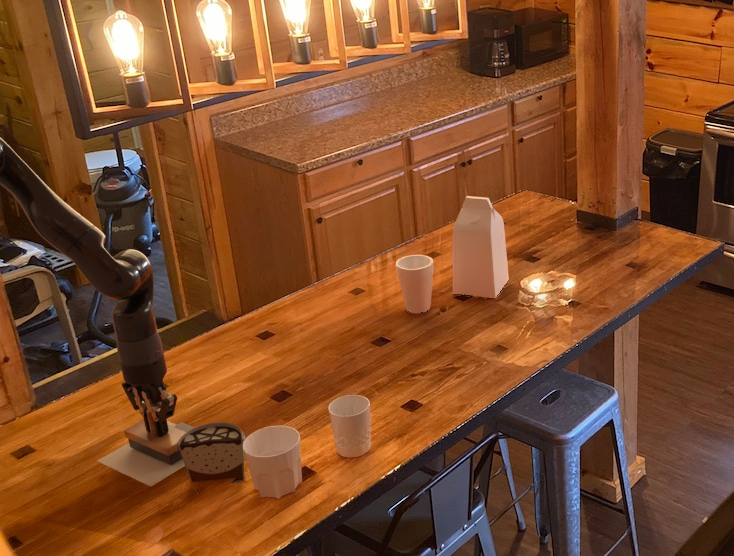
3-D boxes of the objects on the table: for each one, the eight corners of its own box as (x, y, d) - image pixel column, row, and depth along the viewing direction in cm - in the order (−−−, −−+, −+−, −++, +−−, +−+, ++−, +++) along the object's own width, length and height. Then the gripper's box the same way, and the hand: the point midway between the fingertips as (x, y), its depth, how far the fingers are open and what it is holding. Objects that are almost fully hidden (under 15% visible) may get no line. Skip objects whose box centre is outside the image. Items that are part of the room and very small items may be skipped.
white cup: (332, 440, 192) (327, 398, 188) (372, 434, 194) (367, 391, 190) (335, 463, 185) (329, 419, 181) (376, 455, 187) (371, 412, 183)
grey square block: (166, 442, 189) (164, 431, 188) (183, 432, 192) (181, 421, 191) (180, 448, 187) (178, 437, 186) (197, 437, 191) (195, 427, 190)
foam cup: (393, 307, 247) (388, 261, 241) (423, 296, 252) (420, 251, 247) (412, 319, 240) (408, 273, 235) (443, 308, 246) (440, 262, 241)
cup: (264, 467, 183) (257, 424, 179) (314, 470, 182) (308, 427, 178) (241, 500, 174) (233, 455, 170) (293, 503, 173) (286, 458, 169)
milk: (509, 281, 261) (505, 192, 251) (495, 299, 251) (491, 207, 241) (467, 276, 264) (463, 188, 253) (452, 294, 254) (447, 203, 243)
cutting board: (97, 465, 184) (96, 460, 183) (168, 424, 196) (167, 420, 196) (151, 491, 177) (150, 486, 176) (221, 447, 189) (220, 443, 189)
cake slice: (257, 461, 185) (250, 417, 181) (252, 480, 180) (244, 436, 176) (191, 467, 183) (182, 423, 179) (183, 487, 178) (174, 442, 174)
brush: (127, 447, 187) (118, 408, 183) (152, 433, 191) (144, 395, 188) (170, 466, 181) (162, 426, 178) (195, 451, 186) (187, 412, 182)
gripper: (99, 353, 178) (117, 431, 185) (147, 372, 172) (164, 452, 178) (135, 337, 184) (151, 413, 191) (183, 355, 178) (198, 433, 184)
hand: (157, 432), depth 185 cm, fingers closed on brush, 2 cm apart
